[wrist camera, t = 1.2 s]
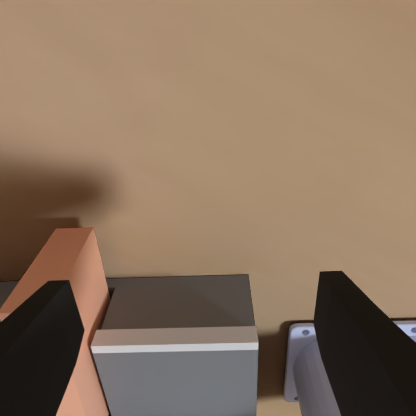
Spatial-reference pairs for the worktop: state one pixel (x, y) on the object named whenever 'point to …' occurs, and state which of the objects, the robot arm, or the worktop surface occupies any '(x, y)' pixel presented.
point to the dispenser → (176, 346)
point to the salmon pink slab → (86, 302)
